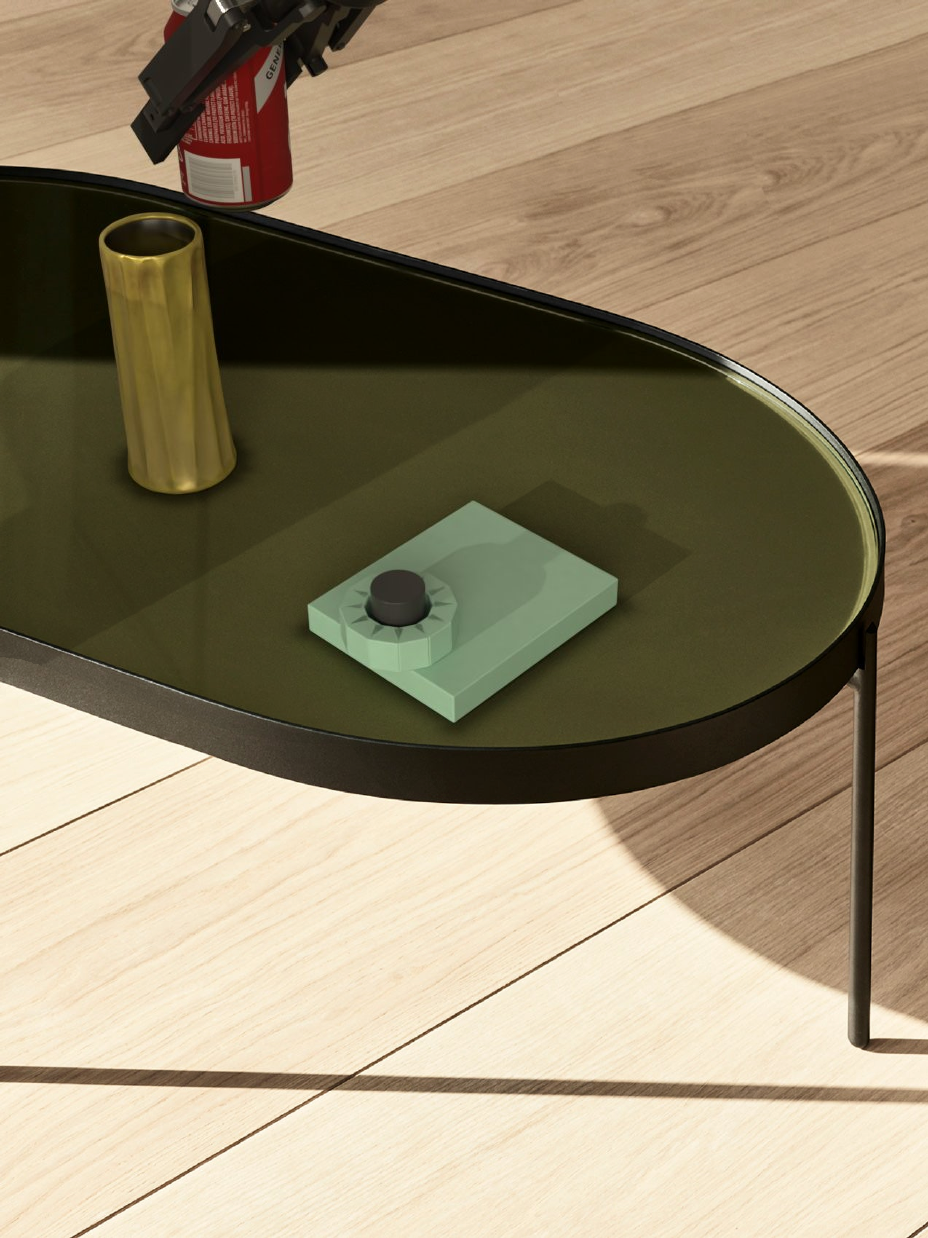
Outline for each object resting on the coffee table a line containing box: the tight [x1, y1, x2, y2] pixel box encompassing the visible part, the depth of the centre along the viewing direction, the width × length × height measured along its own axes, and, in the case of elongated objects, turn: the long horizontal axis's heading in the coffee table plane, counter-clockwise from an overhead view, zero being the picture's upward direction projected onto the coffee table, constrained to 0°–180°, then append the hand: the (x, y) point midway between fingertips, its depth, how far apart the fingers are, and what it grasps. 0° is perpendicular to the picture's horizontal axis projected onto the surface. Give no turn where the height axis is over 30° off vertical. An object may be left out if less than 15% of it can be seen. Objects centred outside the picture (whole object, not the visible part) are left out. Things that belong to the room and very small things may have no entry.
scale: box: [307, 500, 619, 723], centre depth 83 cm, size 13×10×4 cm
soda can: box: [163, 0, 294, 214], centre depth 99 cm, size 7×7×12 cm
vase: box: [98, 211, 237, 495], centre depth 90 cm, size 6×6×14 cm
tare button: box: [370, 570, 426, 628], centre depth 79 cm, size 3×3×2 cm
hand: (195, 124), depth 102 cm, fingers closed on soda can, 7 cm apart
